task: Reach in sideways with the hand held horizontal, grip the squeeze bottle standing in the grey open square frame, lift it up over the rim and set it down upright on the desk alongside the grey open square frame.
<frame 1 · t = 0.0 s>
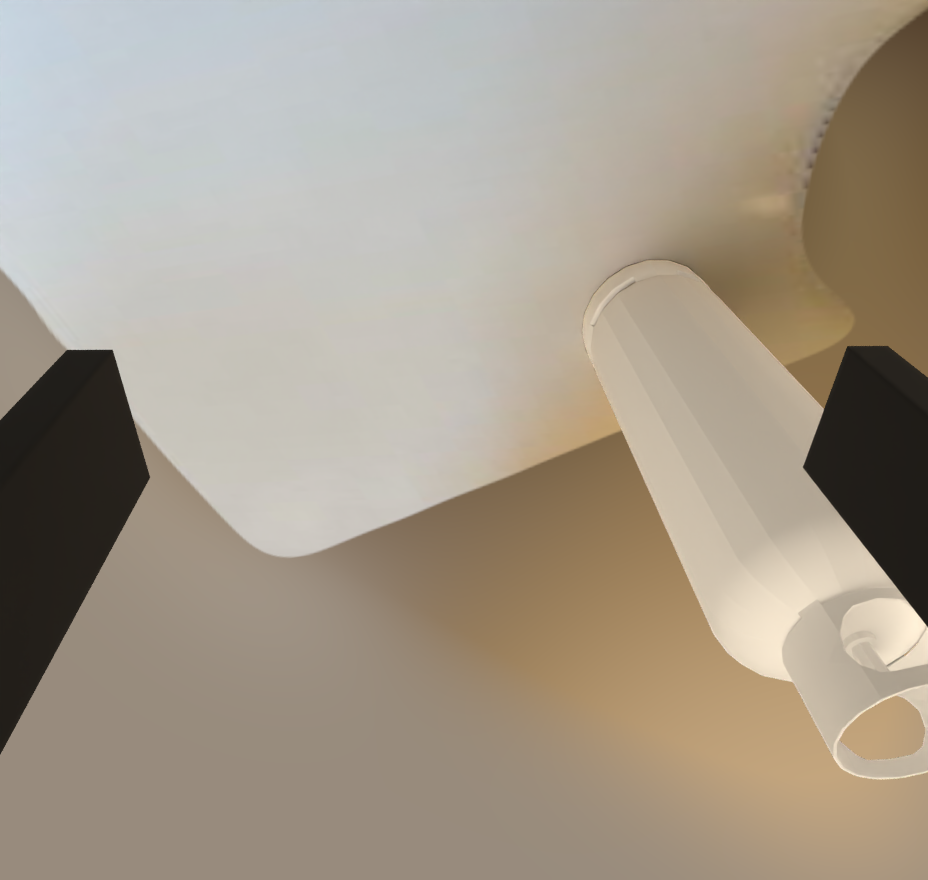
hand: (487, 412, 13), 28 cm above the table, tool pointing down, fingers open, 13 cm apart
bottle: (645, 321, 43), on the table
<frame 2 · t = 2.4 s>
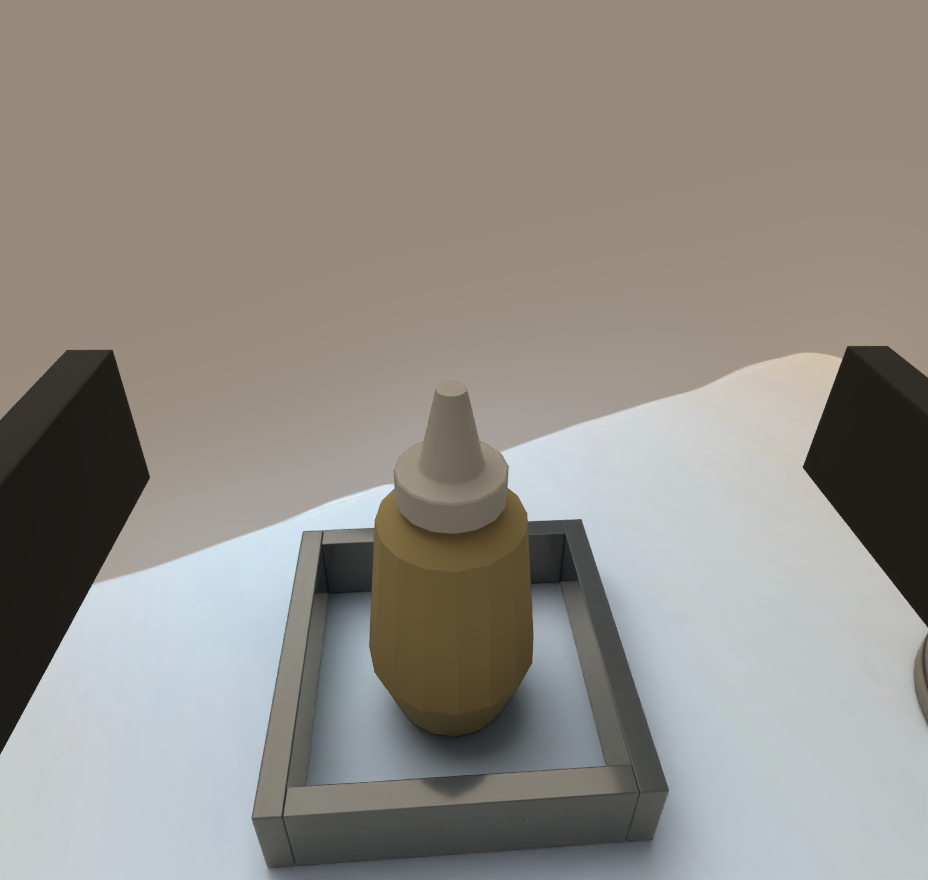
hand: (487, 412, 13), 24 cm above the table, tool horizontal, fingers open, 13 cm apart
grey open square frame: (452, 687, 36), on the table
squeeze bottle: (452, 689, 36), resting in grey open square frame
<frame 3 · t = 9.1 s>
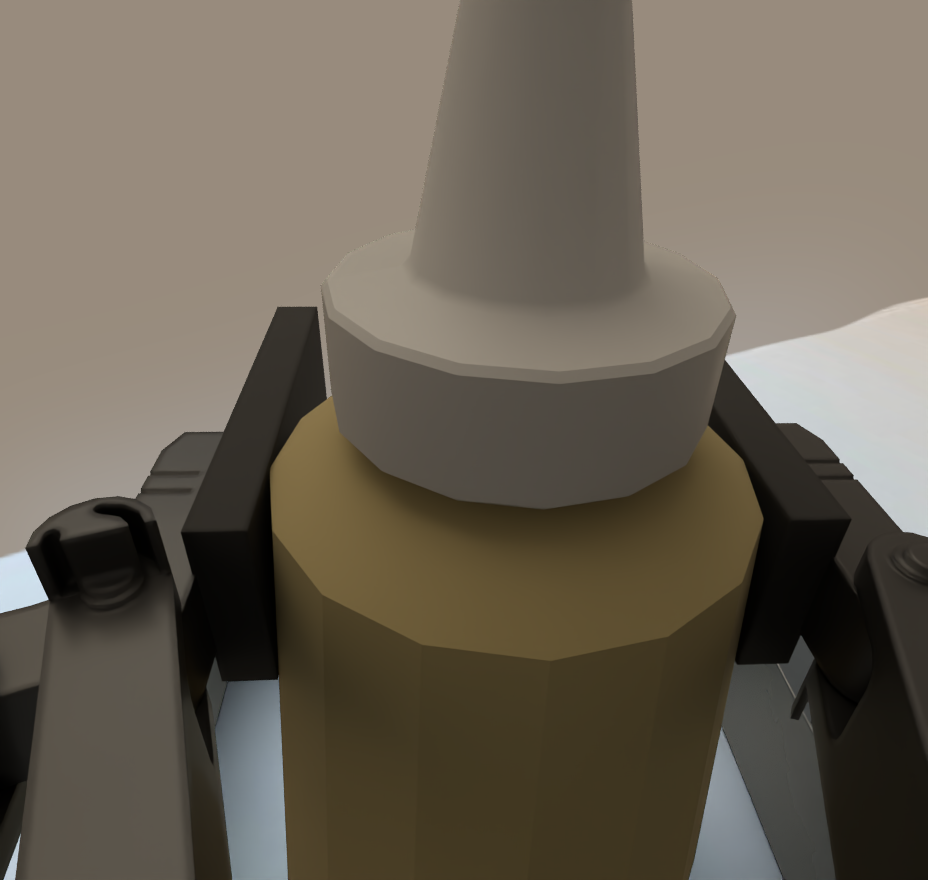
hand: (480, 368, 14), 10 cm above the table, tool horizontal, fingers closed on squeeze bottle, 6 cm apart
grey open square frame: (481, 873, 16), on the table
squeeze bottle: (480, 877, 16), resting in grey open square frame, touching gripper
when the fingers open (10 cm above the table, at t = 18.4 s): squeeze bottle stays where it is, on the table.
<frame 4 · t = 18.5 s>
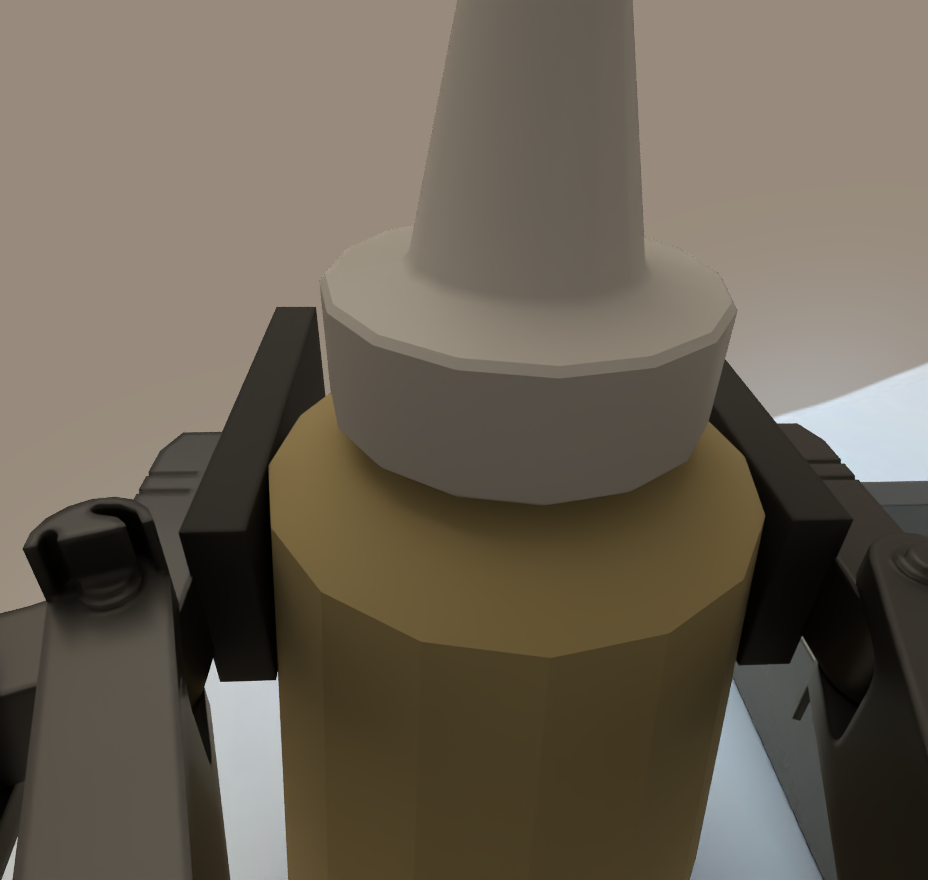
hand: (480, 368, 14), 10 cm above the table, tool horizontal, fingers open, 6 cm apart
squeeze bottle: (481, 876, 16), on the table
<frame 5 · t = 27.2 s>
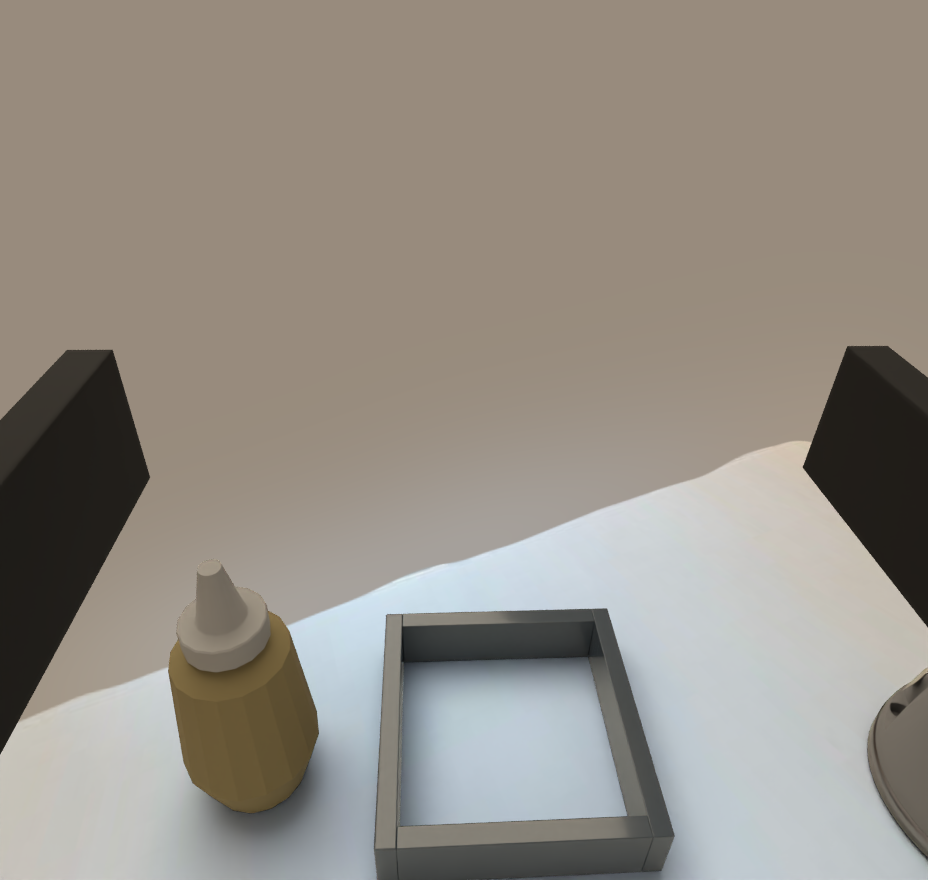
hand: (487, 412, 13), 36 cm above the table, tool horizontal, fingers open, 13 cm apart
grey open square frame: (506, 745, 46), on the table
squeeze bottle: (261, 770, 44), on the table
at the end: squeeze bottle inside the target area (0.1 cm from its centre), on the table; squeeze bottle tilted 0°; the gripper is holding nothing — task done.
